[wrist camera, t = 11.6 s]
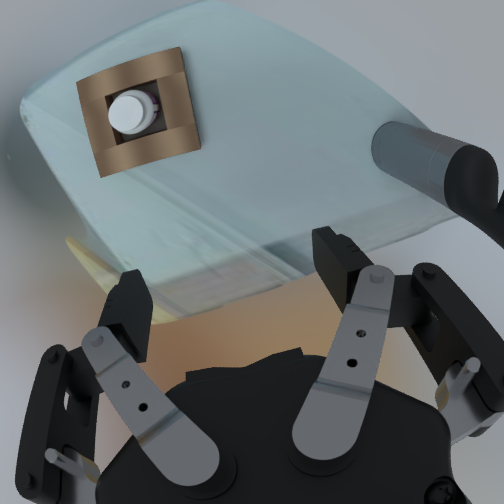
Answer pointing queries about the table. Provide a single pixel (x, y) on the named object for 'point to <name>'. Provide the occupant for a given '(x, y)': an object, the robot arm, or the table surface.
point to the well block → (153, 137)
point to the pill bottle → (134, 111)
